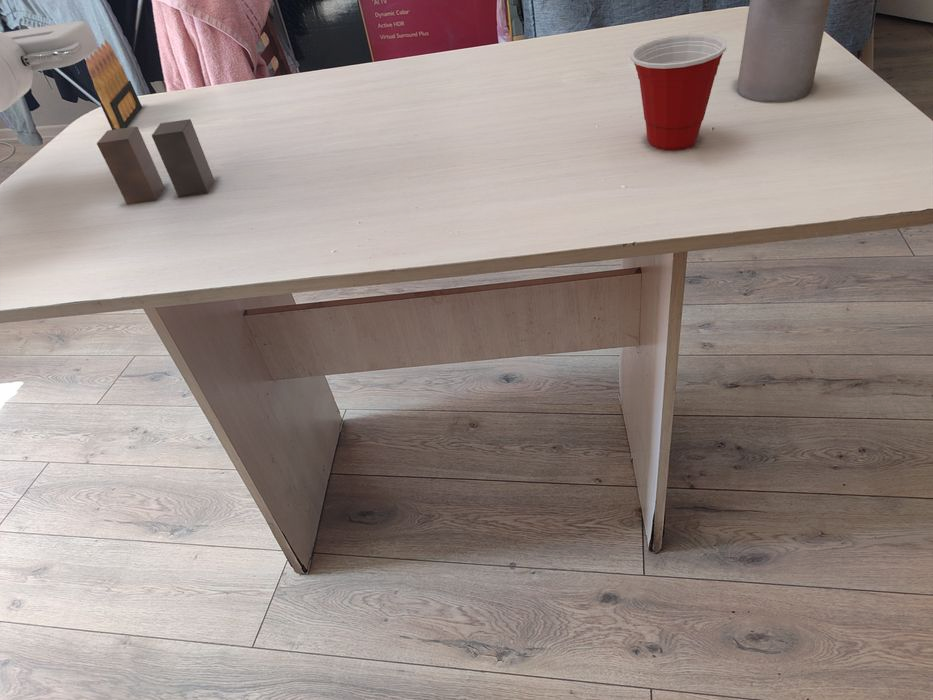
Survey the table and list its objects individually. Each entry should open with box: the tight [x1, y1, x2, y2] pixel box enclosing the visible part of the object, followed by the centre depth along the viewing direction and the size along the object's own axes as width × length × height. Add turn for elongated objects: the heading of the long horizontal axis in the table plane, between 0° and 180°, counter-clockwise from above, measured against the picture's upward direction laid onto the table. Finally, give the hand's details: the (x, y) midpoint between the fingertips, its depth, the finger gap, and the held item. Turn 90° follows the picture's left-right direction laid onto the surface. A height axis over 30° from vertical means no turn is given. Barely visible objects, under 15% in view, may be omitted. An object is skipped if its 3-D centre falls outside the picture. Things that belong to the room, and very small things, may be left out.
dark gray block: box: [151, 118, 215, 199], centre depth 88 cm, size 4×4×9 cm
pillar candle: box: [736, 0, 832, 103], centre depth 90 cm, size 10×10×15 cm
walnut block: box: [96, 126, 165, 206], centre depth 89 cm, size 4×4×9 cm
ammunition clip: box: [85, 39, 143, 130], centre depth 112 cm, size 11×2×12 cm, turn 5°
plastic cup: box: [629, 33, 728, 152], centre depth 82 cm, size 11×11×12 cm
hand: (35, 34), depth 92 cm, fingers open, 8 cm apart
